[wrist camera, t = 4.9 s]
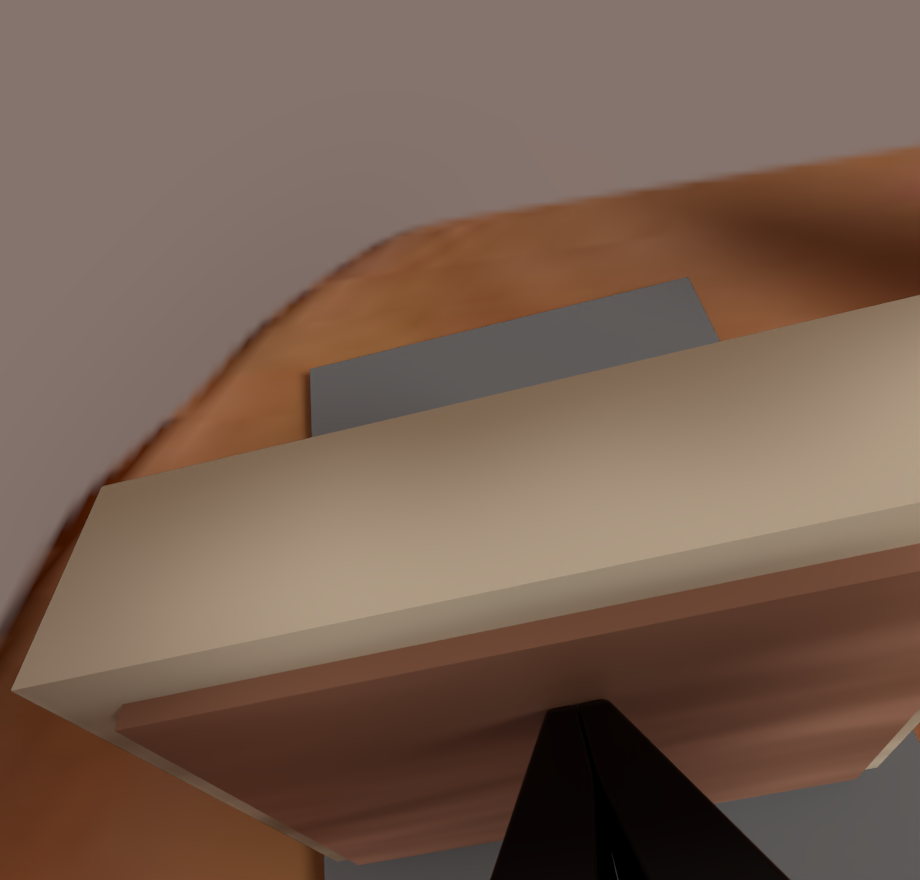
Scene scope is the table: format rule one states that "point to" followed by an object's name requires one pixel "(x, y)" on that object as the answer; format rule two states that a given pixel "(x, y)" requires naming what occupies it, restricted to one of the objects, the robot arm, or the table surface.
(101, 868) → the table surface
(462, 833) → the small wooden box
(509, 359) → the rubber mat
